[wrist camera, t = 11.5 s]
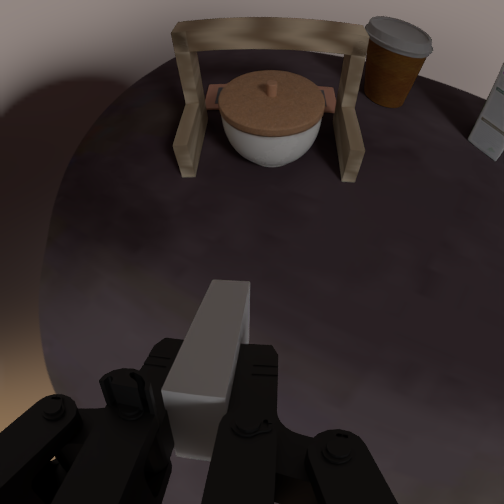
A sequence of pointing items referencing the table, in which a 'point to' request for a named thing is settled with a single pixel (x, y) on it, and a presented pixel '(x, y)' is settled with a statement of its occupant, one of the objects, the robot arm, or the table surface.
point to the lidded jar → (271, 116)
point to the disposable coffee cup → (393, 59)
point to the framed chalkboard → (217, 88)
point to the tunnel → (269, 37)
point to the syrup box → (491, 122)
